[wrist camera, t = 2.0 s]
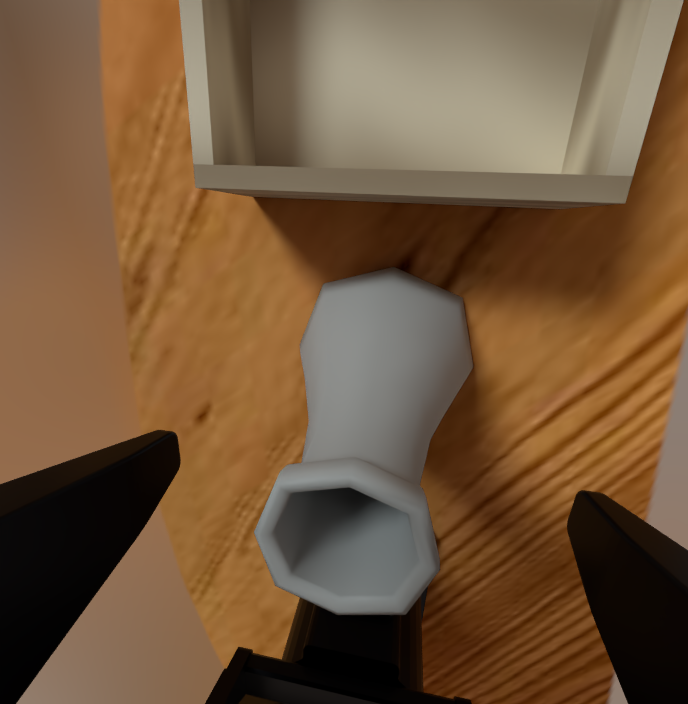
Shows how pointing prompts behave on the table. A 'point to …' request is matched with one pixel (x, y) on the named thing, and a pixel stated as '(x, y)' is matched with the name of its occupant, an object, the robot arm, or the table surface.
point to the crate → (424, 98)
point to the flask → (367, 445)
